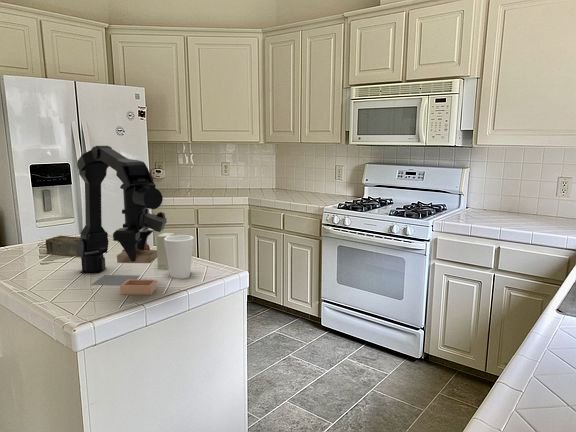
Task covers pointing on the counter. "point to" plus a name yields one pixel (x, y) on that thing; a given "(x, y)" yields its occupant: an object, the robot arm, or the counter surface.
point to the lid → (138, 256)
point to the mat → (114, 279)
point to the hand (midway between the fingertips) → (137, 258)
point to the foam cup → (179, 255)
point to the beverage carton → (62, 245)
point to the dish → (138, 287)
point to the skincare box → (162, 251)
